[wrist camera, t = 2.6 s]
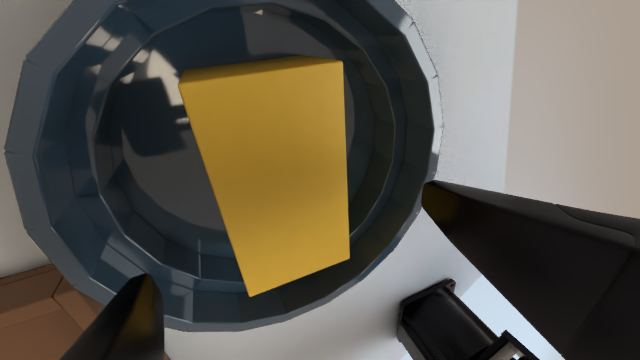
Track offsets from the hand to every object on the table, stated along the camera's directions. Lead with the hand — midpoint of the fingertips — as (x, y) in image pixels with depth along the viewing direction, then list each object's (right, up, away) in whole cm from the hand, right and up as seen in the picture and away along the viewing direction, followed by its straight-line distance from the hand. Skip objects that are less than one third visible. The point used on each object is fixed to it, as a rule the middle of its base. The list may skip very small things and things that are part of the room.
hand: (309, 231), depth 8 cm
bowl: (-2, +3, +5) cm, 6 cm away
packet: (-2, +3, +5) cm, 6 cm away
